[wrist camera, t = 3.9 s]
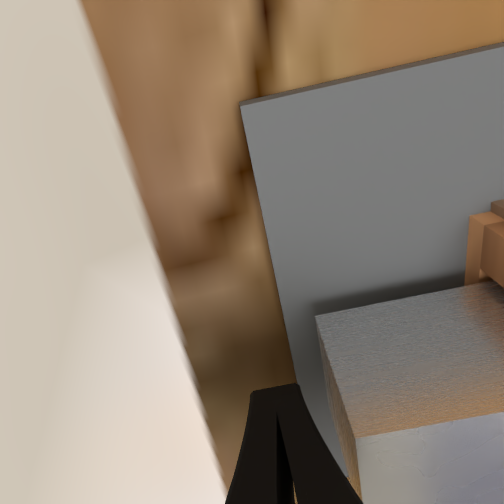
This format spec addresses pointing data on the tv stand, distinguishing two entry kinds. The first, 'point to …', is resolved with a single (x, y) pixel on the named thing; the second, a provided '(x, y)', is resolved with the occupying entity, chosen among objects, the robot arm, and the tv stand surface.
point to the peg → (420, 395)
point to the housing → (486, 246)
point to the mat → (374, 191)
